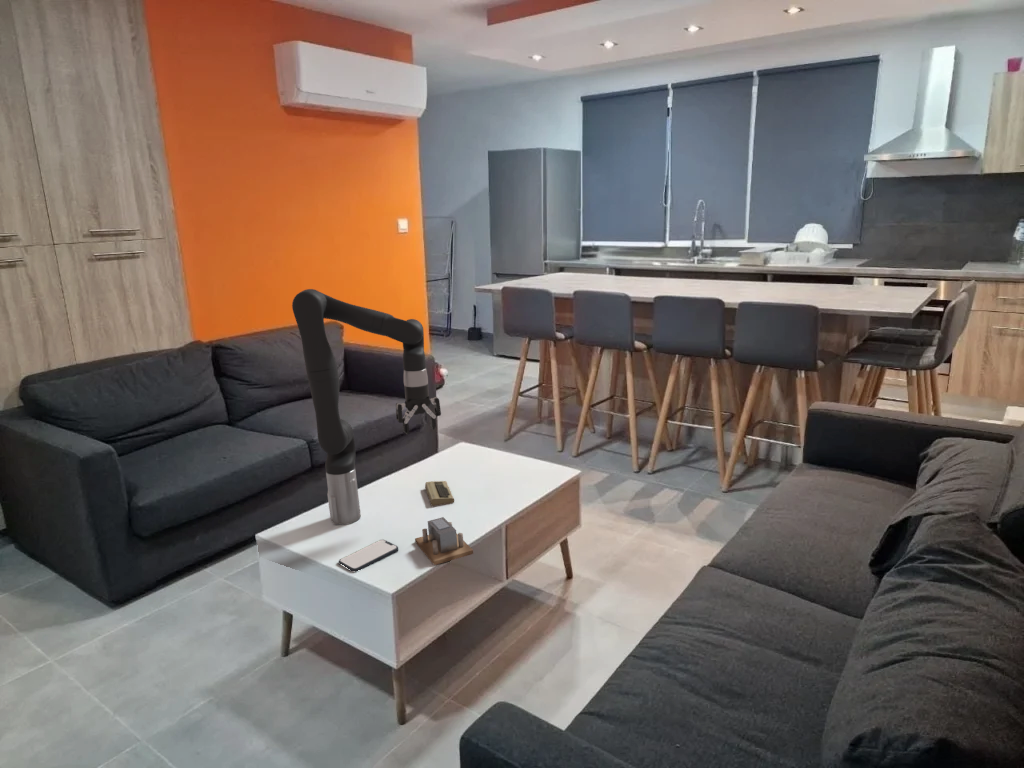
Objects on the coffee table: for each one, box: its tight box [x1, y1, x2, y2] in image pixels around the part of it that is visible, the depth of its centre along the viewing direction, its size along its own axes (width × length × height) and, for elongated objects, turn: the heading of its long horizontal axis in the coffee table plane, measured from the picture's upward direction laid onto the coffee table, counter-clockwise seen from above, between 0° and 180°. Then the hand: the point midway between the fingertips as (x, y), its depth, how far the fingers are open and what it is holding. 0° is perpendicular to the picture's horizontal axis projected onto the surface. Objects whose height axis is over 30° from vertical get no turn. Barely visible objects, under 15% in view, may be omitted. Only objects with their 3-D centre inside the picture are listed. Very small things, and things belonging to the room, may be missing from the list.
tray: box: [414, 521, 474, 566], centre depth 196 cm, size 12×16×5 cm
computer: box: [424, 480, 455, 507], centre depth 234 cm, size 16×8×3 cm, turn 15°
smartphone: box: [338, 539, 399, 572], centre depth 194 cm, size 9×2×16 cm
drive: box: [427, 516, 458, 554], centre depth 196 cm, size 5×10×6 cm, turn 27°
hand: (420, 431), depth 216 cm, fingers open, 8 cm apart
